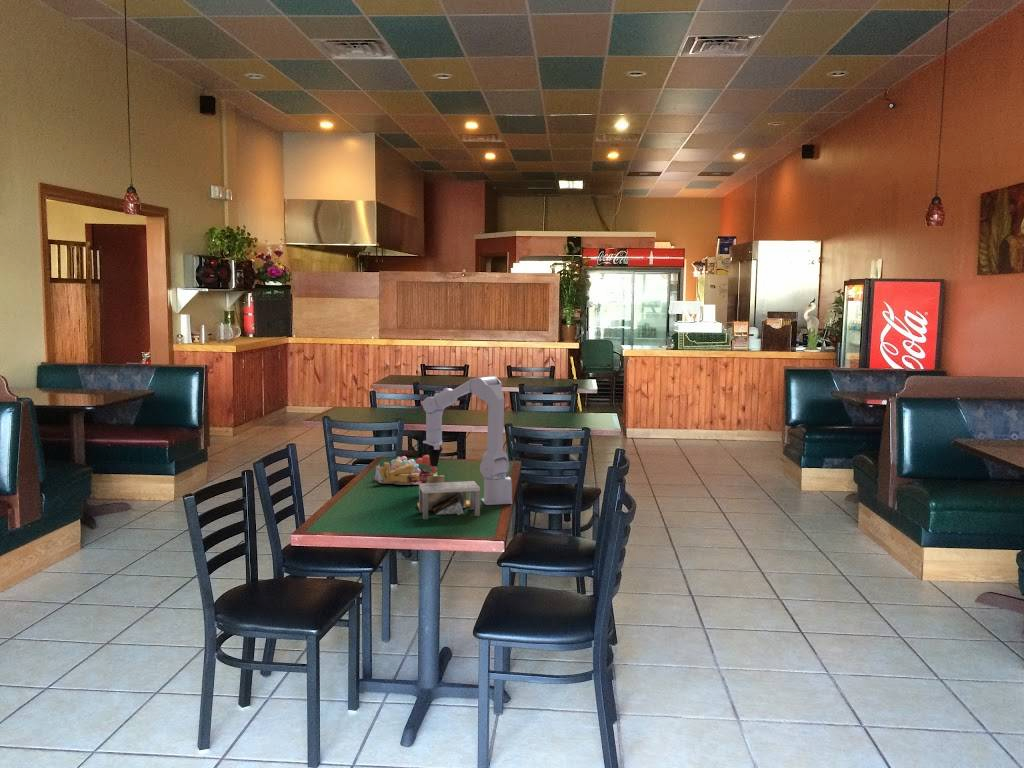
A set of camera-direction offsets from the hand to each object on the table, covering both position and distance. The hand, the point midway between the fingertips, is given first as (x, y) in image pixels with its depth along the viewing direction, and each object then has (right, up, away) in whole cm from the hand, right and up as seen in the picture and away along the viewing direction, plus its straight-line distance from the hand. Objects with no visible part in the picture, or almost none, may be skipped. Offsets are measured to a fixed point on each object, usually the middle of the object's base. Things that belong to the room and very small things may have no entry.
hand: (434, 465), depth 299 cm
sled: (+4, -10, -15) cm, 19 cm away
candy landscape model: (-13, -8, +20) cm, 25 cm away
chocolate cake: (+8, -13, -30) cm, 34 cm away
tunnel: (+8, -13, -31) cm, 35 cm away
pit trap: (+6, -12, -22) cm, 26 cm away
